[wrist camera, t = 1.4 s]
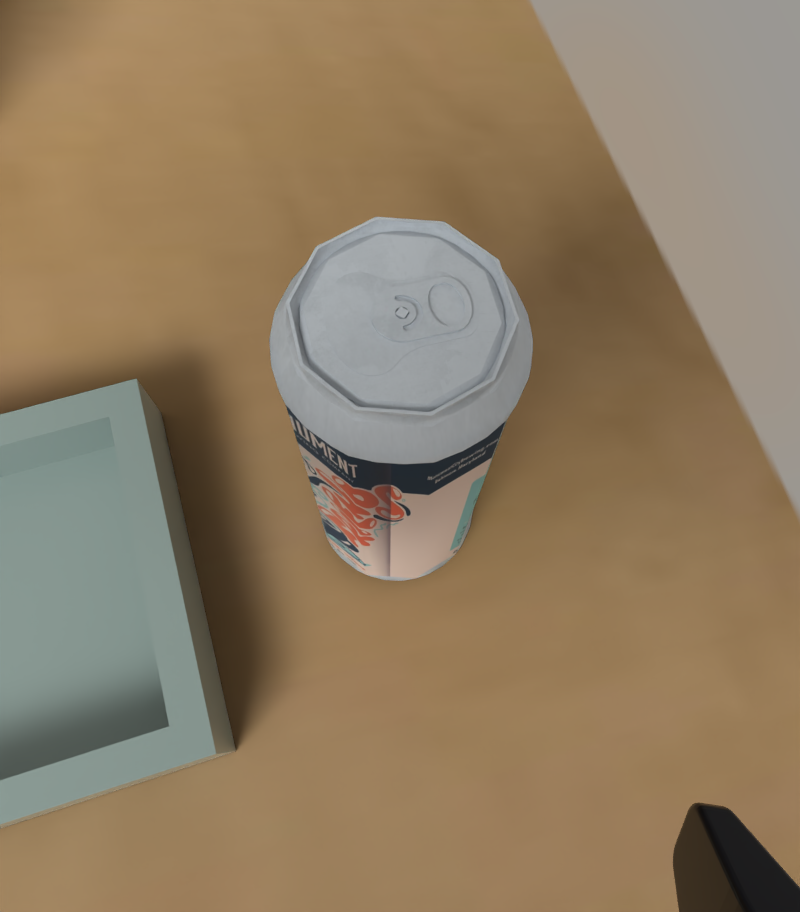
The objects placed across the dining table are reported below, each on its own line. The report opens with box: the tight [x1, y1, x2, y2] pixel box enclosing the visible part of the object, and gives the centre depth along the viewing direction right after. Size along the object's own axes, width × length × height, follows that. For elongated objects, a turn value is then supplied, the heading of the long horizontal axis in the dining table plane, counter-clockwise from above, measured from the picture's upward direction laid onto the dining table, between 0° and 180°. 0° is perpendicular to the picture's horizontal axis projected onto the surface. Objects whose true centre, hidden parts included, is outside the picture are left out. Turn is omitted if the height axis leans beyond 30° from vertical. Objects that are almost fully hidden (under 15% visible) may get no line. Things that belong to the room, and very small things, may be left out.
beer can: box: [269, 217, 533, 581], centre depth 18 cm, size 5×5×12 cm
